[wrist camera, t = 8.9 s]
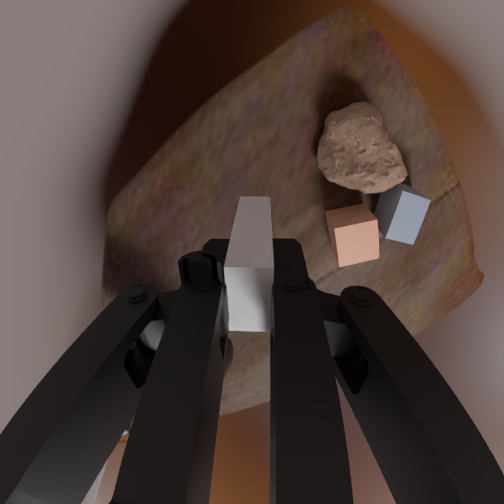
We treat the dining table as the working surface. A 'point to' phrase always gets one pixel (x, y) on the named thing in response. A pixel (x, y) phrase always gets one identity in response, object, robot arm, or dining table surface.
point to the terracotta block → (353, 234)
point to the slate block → (401, 213)
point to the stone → (359, 150)
